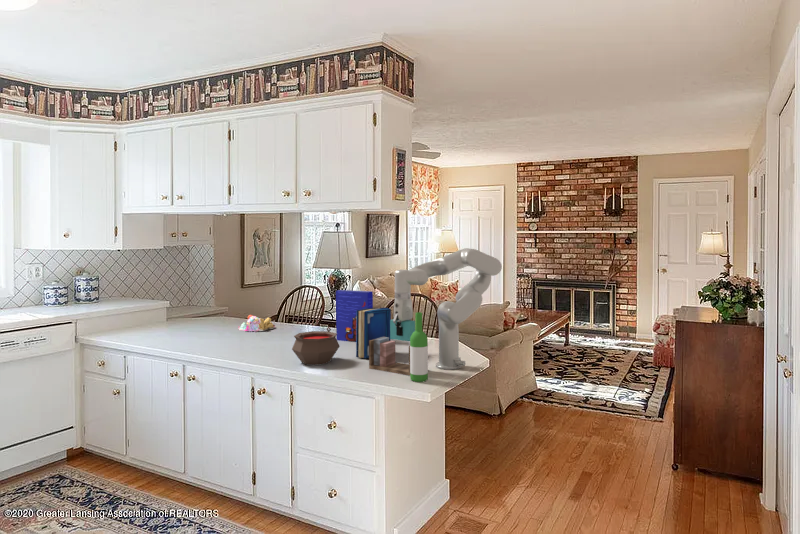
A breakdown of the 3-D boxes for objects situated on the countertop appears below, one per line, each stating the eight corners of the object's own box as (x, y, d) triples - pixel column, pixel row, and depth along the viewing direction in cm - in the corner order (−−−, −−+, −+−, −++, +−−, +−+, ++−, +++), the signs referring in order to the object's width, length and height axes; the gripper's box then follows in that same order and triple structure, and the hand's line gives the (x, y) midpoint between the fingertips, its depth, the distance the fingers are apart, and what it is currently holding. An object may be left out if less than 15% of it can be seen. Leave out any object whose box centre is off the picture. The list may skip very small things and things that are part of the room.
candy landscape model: (280, 326, 388) (280, 313, 387) (265, 333, 365) (265, 318, 364) (247, 325, 393) (247, 312, 393) (230, 331, 370) (229, 317, 370)
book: (382, 350, 309) (382, 305, 307) (392, 352, 304) (392, 306, 303) (355, 357, 292) (354, 310, 290) (365, 359, 288) (364, 311, 286)
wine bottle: (429, 378, 252) (429, 311, 250) (426, 383, 244) (425, 314, 242) (412, 377, 253) (411, 311, 251) (408, 382, 246) (408, 313, 244)
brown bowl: (312, 354, 301) (312, 324, 300) (349, 359, 289) (349, 327, 288) (281, 363, 281) (281, 331, 279) (320, 369, 268) (319, 335, 267)
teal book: (415, 339, 264) (415, 320, 263) (409, 341, 260) (409, 322, 260) (395, 337, 270) (395, 318, 270) (390, 338, 266) (390, 320, 266)
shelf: (425, 370, 266) (424, 341, 265) (411, 375, 257) (410, 345, 256) (384, 363, 280) (383, 335, 279) (369, 368, 270) (368, 339, 269)
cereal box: (373, 341, 335) (372, 291, 332) (368, 343, 329) (367, 292, 327) (341, 338, 344) (341, 289, 342) (336, 340, 339) (335, 290, 337)
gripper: (399, 298, 255) (399, 338, 256) (419, 294, 269) (419, 332, 270) (385, 297, 259) (385, 336, 260) (406, 293, 273) (406, 331, 274)
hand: (402, 334), depth 265 cm, fingers closed on teal book, 4 cm apart
